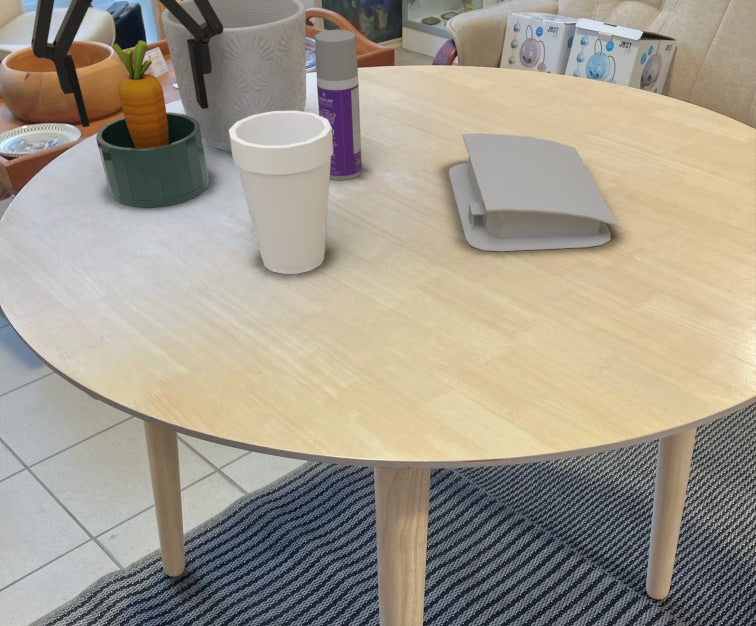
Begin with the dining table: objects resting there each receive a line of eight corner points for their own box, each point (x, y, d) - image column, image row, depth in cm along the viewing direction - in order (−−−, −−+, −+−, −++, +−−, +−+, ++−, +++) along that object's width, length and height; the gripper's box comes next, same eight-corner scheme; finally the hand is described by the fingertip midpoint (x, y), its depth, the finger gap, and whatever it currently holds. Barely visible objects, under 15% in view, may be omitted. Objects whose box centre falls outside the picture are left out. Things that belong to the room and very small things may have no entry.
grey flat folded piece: (469, 252, 88) (471, 216, 85) (446, 163, 104) (447, 131, 102) (618, 245, 88) (624, 209, 85) (571, 158, 104) (575, 125, 102)
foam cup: (241, 282, 84) (221, 149, 75) (252, 239, 91) (235, 112, 82) (337, 280, 84) (329, 146, 75) (341, 237, 91) (333, 109, 82)
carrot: (129, 180, 101) (97, 41, 91) (164, 167, 104) (137, 30, 93) (152, 192, 98) (122, 50, 88) (188, 178, 101) (162, 39, 91)
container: (318, 178, 102) (308, 40, 92) (329, 163, 105) (320, 28, 95) (356, 181, 101) (350, 42, 91) (366, 166, 104) (361, 30, 94)
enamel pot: (94, 205, 98) (79, 148, 94) (131, 165, 106) (118, 110, 102) (191, 209, 97) (180, 151, 92) (220, 168, 105) (212, 113, 101)
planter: (163, 135, 113) (138, 6, 103) (276, 108, 120) (263, -16, 109) (219, 177, 103) (198, 38, 92) (339, 145, 109) (331, 11, 99)
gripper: (-39, -103, 76) (34, 142, 90) (233, -126, 82) (259, 107, 96) (-41, -115, 81) (28, 119, 95) (215, -136, 87) (243, 87, 101)
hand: (144, 114), depth 96 cm, fingers open, 12 cm apart
